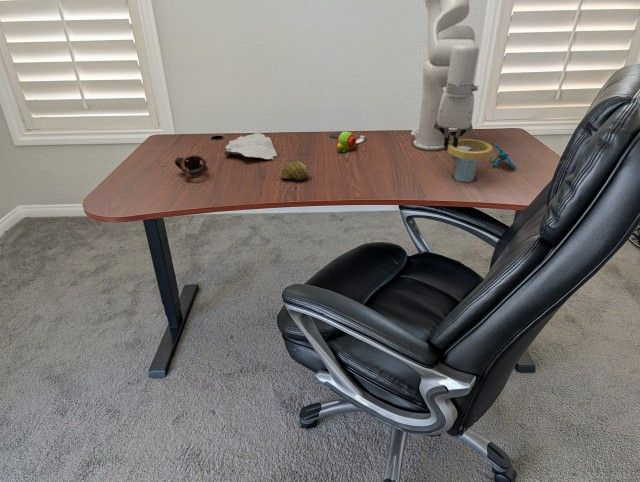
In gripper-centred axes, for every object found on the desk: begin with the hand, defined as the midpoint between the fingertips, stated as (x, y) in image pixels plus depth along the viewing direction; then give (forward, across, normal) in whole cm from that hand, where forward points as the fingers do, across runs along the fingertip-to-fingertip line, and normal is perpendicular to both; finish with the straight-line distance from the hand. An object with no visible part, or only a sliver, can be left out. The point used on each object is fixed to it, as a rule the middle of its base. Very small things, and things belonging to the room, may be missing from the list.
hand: (449, 148), depth 136 cm
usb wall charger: (+10, -4, -19) cm, 22 cm away
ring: (+1, -6, 0) cm, 6 cm away
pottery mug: (+10, +82, +21) cm, 85 cm away
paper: (+10, +72, -3) cm, 73 cm away
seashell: (+10, +48, +15) cm, 51 cm away
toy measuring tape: (+10, +37, -20) cm, 43 cm away
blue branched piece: (+10, -18, -14) cm, 25 cm away
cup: (+10, -6, 0) cm, 11 cm away
